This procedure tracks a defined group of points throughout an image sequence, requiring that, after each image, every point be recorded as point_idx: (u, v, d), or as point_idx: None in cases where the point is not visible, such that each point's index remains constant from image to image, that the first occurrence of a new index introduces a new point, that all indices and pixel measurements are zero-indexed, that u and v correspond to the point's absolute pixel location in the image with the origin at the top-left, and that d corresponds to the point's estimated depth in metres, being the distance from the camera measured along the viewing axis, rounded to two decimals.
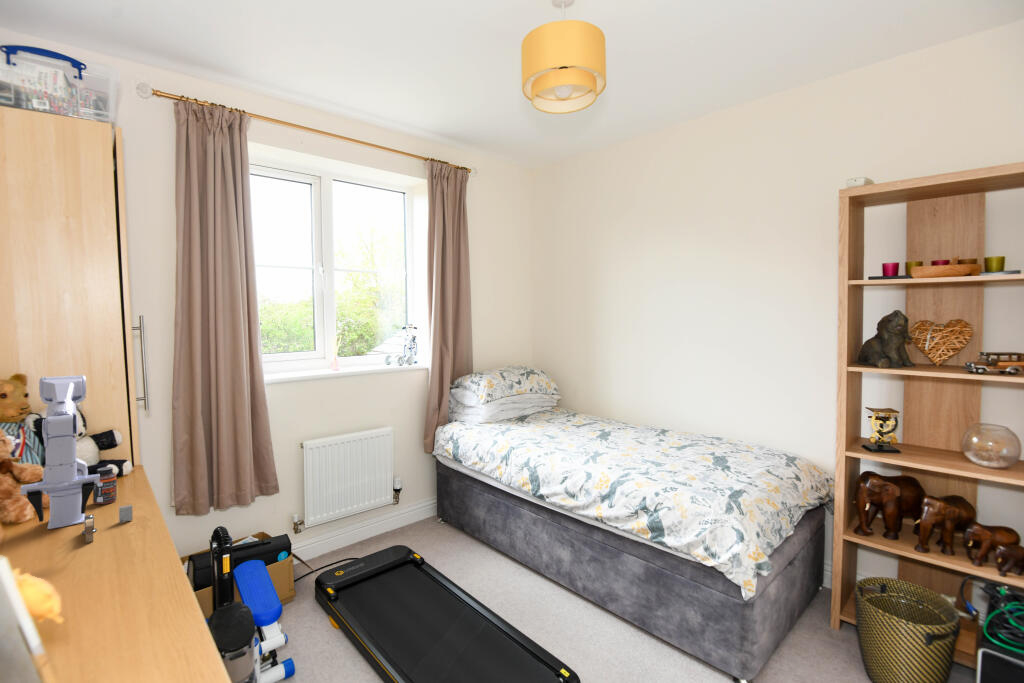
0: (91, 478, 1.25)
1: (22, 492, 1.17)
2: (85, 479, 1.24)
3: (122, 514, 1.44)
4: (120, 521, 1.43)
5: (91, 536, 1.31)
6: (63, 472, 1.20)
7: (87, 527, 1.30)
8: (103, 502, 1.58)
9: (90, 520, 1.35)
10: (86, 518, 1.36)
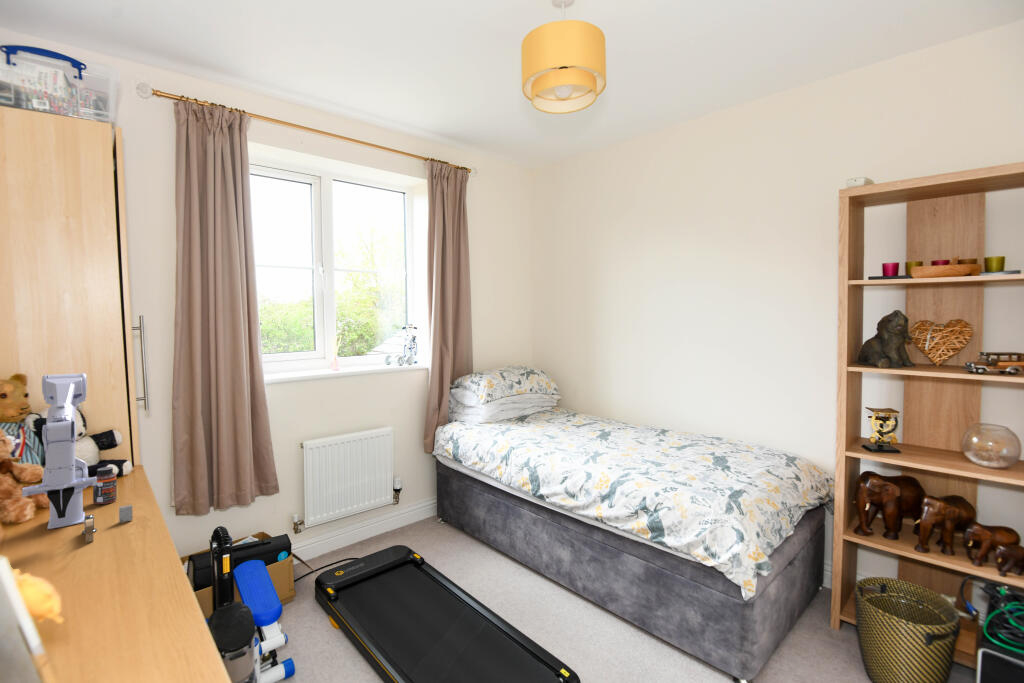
0: (89, 480, 1.32)
1: (23, 494, 1.24)
2: (83, 481, 1.31)
3: (122, 514, 1.44)
4: (120, 521, 1.43)
5: (91, 536, 1.31)
6: (62, 475, 1.28)
7: (87, 527, 1.30)
8: (103, 502, 1.58)
9: (90, 520, 1.35)
10: (86, 518, 1.36)
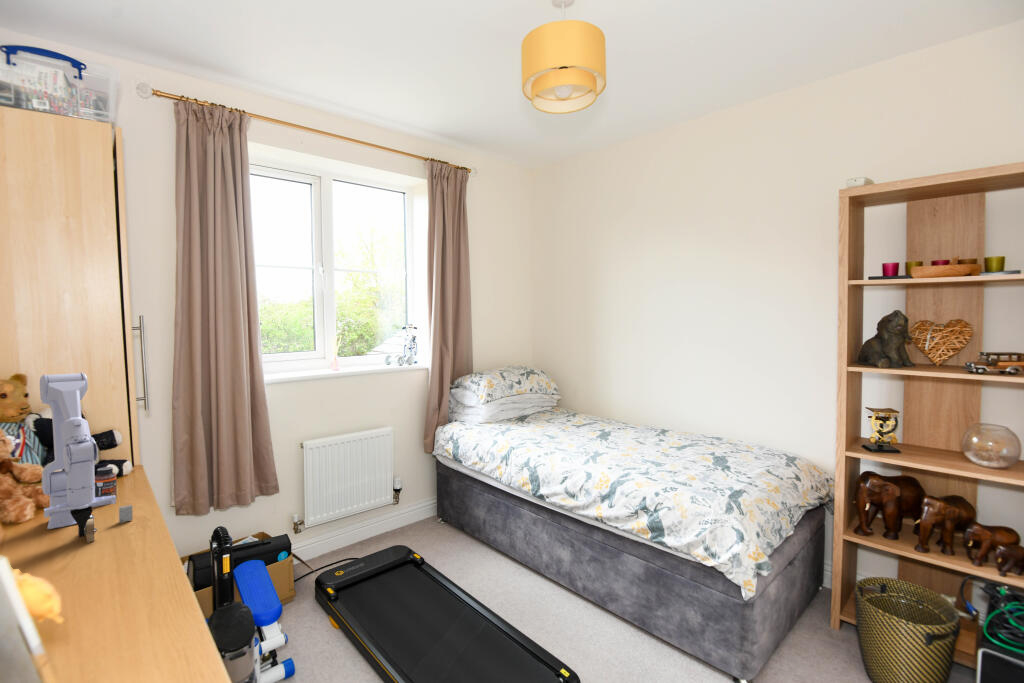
0: (108, 499, 1.35)
1: (46, 515, 1.26)
2: (103, 500, 1.34)
3: (122, 514, 1.44)
4: (120, 521, 1.43)
5: (92, 536, 1.31)
6: (84, 495, 1.30)
7: (88, 527, 1.30)
8: None
9: (90, 520, 1.35)
10: None
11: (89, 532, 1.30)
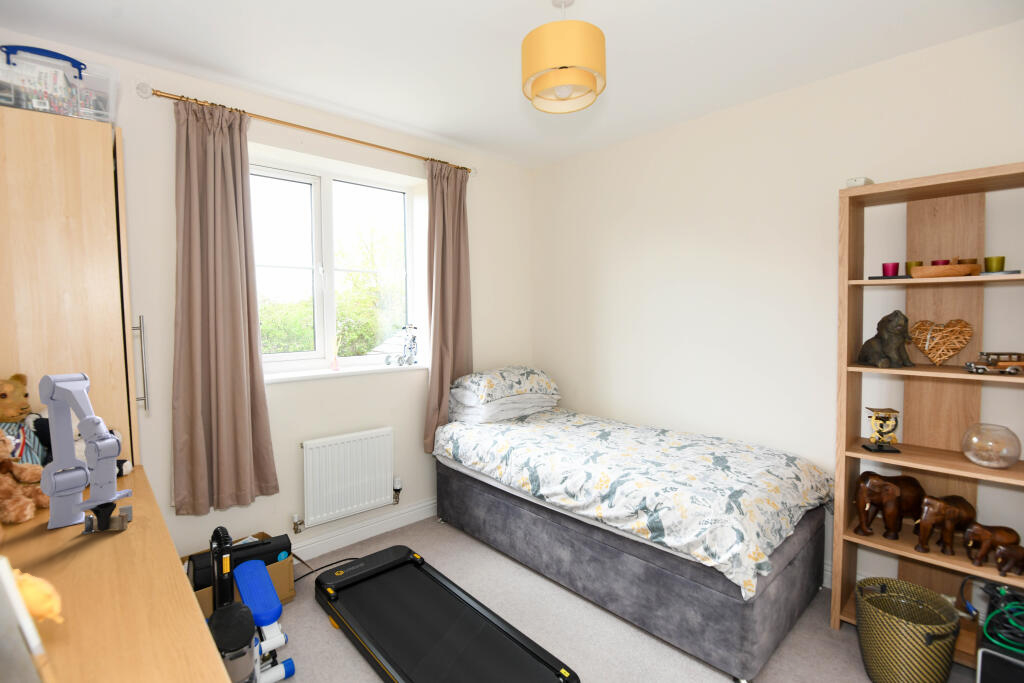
0: (127, 492, 1.41)
1: (78, 511, 1.29)
2: (124, 493, 1.40)
3: None
4: None
5: (126, 523, 1.39)
6: (112, 488, 1.36)
7: (124, 515, 1.38)
8: None
9: None
10: (86, 518, 1.36)
11: (125, 520, 1.38)
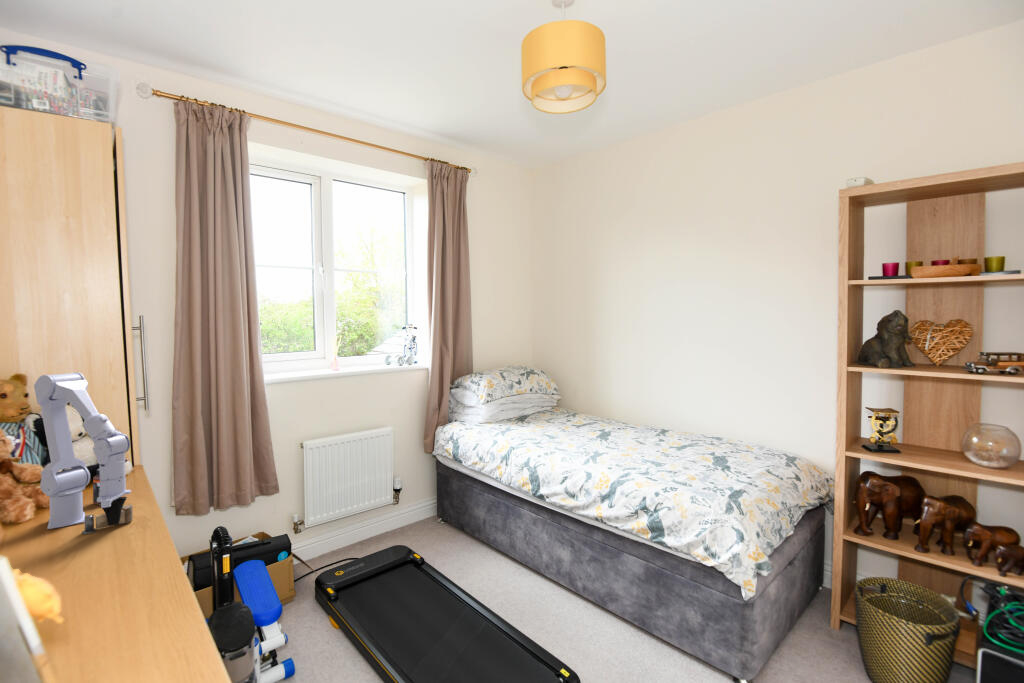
0: None
1: (110, 504, 1.34)
2: None
3: None
4: None
5: None
6: (125, 482, 1.41)
7: (130, 508, 1.44)
8: None
9: (101, 514, 1.39)
10: (86, 518, 1.36)
11: None
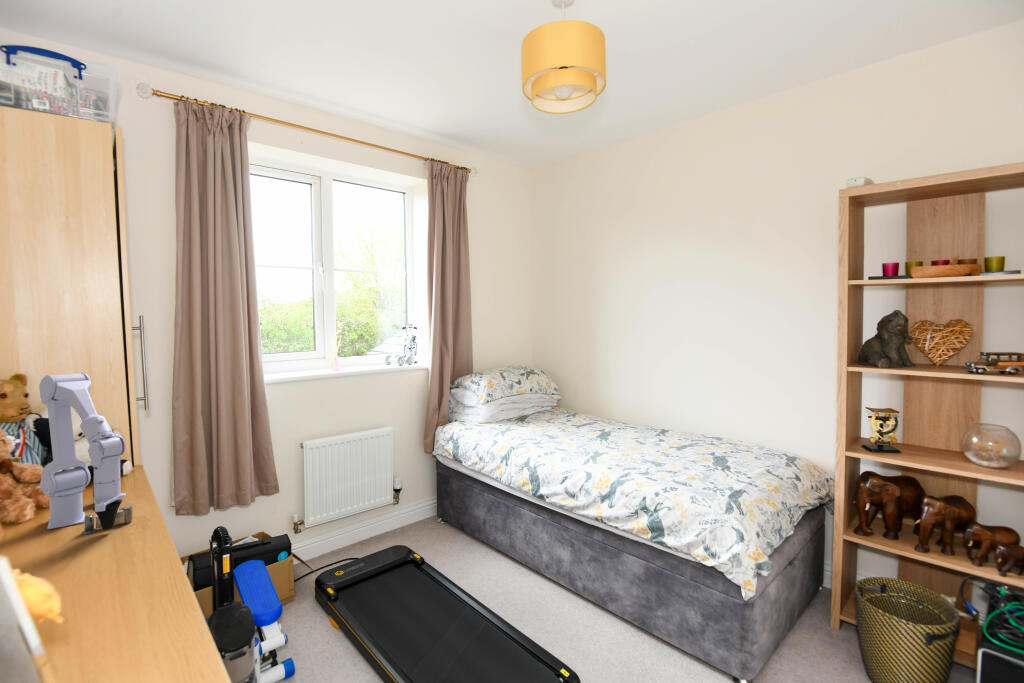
0: None
1: (104, 508, 1.31)
2: None
3: None
4: None
5: None
6: (120, 485, 1.38)
7: (130, 508, 1.44)
8: None
9: None
10: (86, 518, 1.36)
11: None
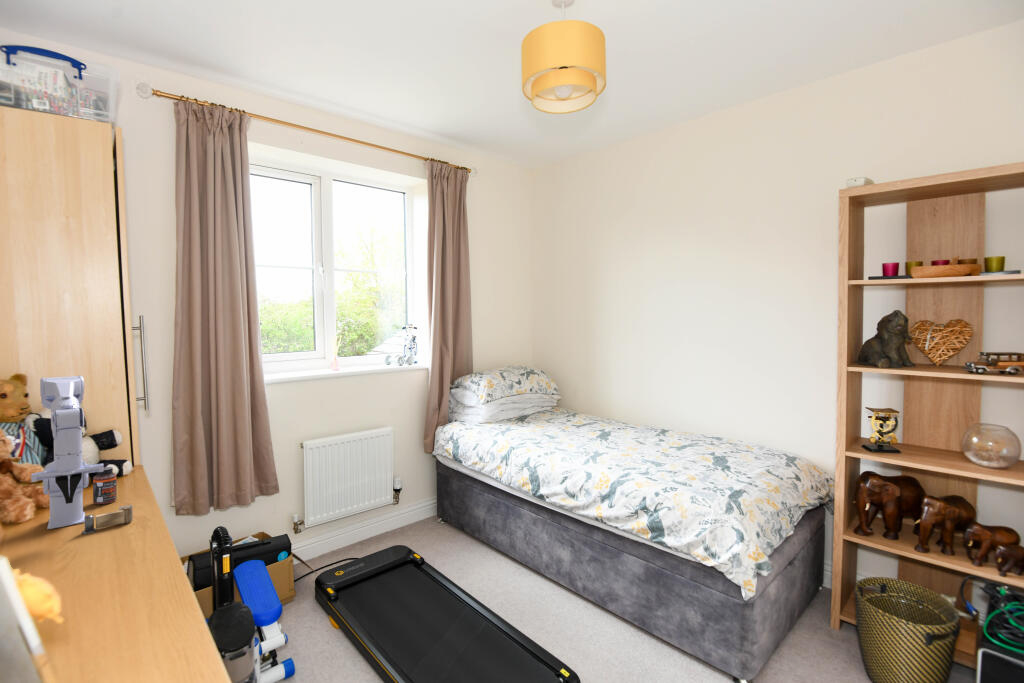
0: (95, 467, 1.35)
1: (32, 479, 1.27)
2: (90, 468, 1.34)
3: None
4: None
5: None
6: (70, 461, 1.31)
7: (130, 508, 1.44)
8: (103, 502, 1.58)
9: (101, 514, 1.39)
10: (86, 518, 1.36)
11: None
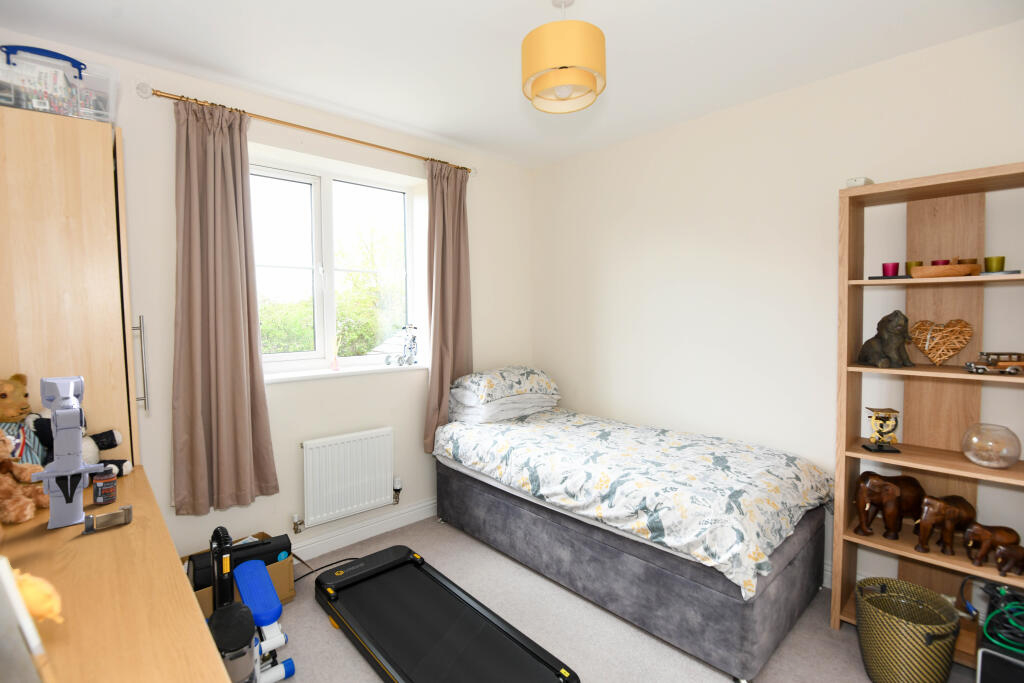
0: (95, 467, 1.35)
1: (32, 479, 1.27)
2: (90, 468, 1.34)
3: None
4: None
5: None
6: (70, 461, 1.31)
7: (130, 508, 1.44)
8: (103, 502, 1.58)
9: (101, 514, 1.39)
10: (86, 518, 1.36)
11: None
